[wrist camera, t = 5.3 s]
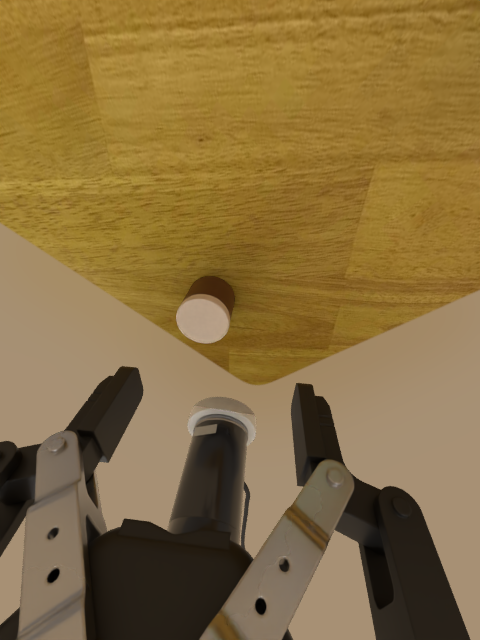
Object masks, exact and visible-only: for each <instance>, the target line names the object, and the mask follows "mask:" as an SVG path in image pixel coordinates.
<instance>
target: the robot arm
mask: <svg viewBox="0 0 480 640" xmlns="http://www.w3.org/2000/svg"><path fill="white" fill-rule="evenodd" d="M142 396H143V385H142V382H141V378H140V374H139V370H138V368H134V367H124V366H122V367H120V368H119V369H118V371H117V372H116V374H115V375H114V376H109V377H107V378H106V379H105V380H103V381H102V382H101V383H100V384H99V385H98V386H97V388H96V389H95V390H94V392H93V394H91V396H90V397H89V398H88V401H86V402H85V404H84V405H83V406H82V408H81V409H80V410H79V412H78V413H77V414H76V416H75V417H74V419H73V420H72V421H71V423H70V424H69V426H68V427H67V428H66V429H65V430H64V431H61V432H58V433H56V434H54V435H52V436H50V437H49V438H48V439H46V440H45V441H44V442H43V443H42V444H37V445H32V446H27V447H22V448H17V446H16V445H15V444H14V443H13V442H10V441H4V442H0V557H1V555H2V553H3V552H4V550H5V549H6V547H7V545H8V544H9V542H10V541H11V539H12V537H13V536H14V534H15V533H16V531H17V529H18V528H19V526H20V524H21V523H22V521H23V519H24V518H25V516H26V523H25V539H24V554H23V569H22V570H23V571H22V585H21V600H20V607H19V608H18V609H17V610H16V611H15V612H14V613H13V614H12V615H11V616H10V617H9V618H7V619H6V620H5V621H4V622H3V623H2V624H1V625H0V640H293V638H292V636H291V634H290V632H289V630H288V626H289V624H290V622H291V620H292V618H293V616H294V614H295V612H296V610H297V608H298V606H299V603H300V602H301V599H302V597H303V595H304V593H305V591H306V589H307V587H308V585H309V583H310V581H311V579H312V577H313V575H314V573H315V571H316V569H317V567H318V564H319V562H320V560H321V558H322V556H323V554H324V552H325V550H326V548H327V545H328V542H329V540H330V538H331V536H332V534H333V532H334V530H336V531H338V532H340V533H342V534H343V535H346V536H347V537H349V538H351V539H353V540H355V541H357V542H358V543H359V548H360V554H361V560H362V565H363V570H364V576H365V581H366V587H367V592H368V598H369V603H370V608H371V614H372V619H373V625H374V630H375V635H376V640H470V637H469V635H468V632H467V630H466V627H465V624H464V622H463V619H462V616H461V614H460V611H459V608H458V606H457V603H456V601H455V598H454V596H453V593H452V590H451V588H450V585H449V582H448V580H447V577H446V574H445V572H444V569H443V566H442V564H441V561H440V558H439V556H438V553H437V551H436V548H435V545H434V543H433V540H432V537H431V535H430V532H429V530H428V527H427V525H426V522H425V519H424V516H423V514H422V511H421V509H420V507H419V505H418V504H417V503H416V501H415V500H414V499H413V498H412V497H411V496H410V495H409V494H408V493H406V492H405V491H403V490H402V489H399V488H397V487H392V486H388V487H384V488H383V489H382V490H380V489H377V488H376V487H373V486H371V485H369V484H366V483H364V482H362V481H360V480H359V479H357V478H356V477H355V476H353V475H352V474H351V473H350V472H349V470H348V469H347V468H346V466H345V464H344V462H343V459H342V455H341V451H340V447H339V443H338V439H337V435H336V431H335V427H334V423H333V419H332V414H331V410H330V406H329V405H328V403H327V402H326V400H325V399H324V398H323V397H321V396H315V394H314V390H313V386H312V385H311V384H302V383H296V387H295V391H294V395H293V400H292V405H291V418H292V430H293V441H294V453H295V464H296V476H297V486H303V489H302V491H301V492H300V493H299V495H298V497H297V498H296V500H295V501H294V503H293V504H292V505H291V507H289V508H288V509H287V510H286V511H285V513H284V514H283V516H282V517H281V519H280V520H279V522H278V523H277V525H276V526H275V528H274V529H273V531H272V532H271V534H270V535H269V537H268V538H267V540H266V541H265V543H264V544H263V546H262V548H261V549H260V551H259V552H258V554H257V555H256V557H255V558H254V559H253V558H252V557H251V555H250V554H249V553H248V552H247V551H246V550H245V546H244V538H245V529H246V522H247V515H248V506H249V500H250V492H249V489H248V487H247V485H246V483H245V482H244V474H245V460H246V450H247V441H248V430H247V427H246V426H245V425H244V424H243V423H242V422H241V421H239V420H238V419H236V418H234V417H231V416H228V415H223V414H211V415H206V416H203V417H201V418H200V419H199V420H198V421H197V422H196V423H195V427H194V430H193V436H192V440H191V444H190V447H189V451H188V454H187V458H186V462H185V466H184V469H183V473H182V477H181V480H180V485H179V488H178V492H177V495H176V499H175V503H174V506H173V510H172V514H171V518H170V521H169V526H168V529H167V530H164V529H163V528H161V527H159V526H157V525H155V524H153V523H151V522H147V521H139V520H131V519H124V520H123V523H122V525H121V527H118V528H115V529H112V530H110V531H108V532H107V528H106V524H105V521H104V518H103V515H102V511H101V504H100V496H99V489H98V483H97V475H96V470H95V468H96V467H97V465H98V463H99V462H107V463H108V462H109V461H110V459H111V457H112V455H113V453H114V451H115V449H116V447H117V445H118V444H119V442H120V439H121V438H122V436H123V434H124V432H125V430H126V428H127V426H128V424H129V422H130V421H131V419H132V417H133V415H134V413H135V410H136V409H137V407H138V405H139V403H140V401H141V399H142ZM243 488H244V490H245V493H246V499H245V508H244V518H243V525H242V535H241V546H240V545H239V541H240V527H241V514H242V501H243Z"/></svg>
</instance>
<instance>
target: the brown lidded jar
mask: <svg viewBox="0 0 480 640" xmlns="http://www.w3.org/2000/svg"><path fill="white" fill-rule="evenodd" d="M234 302H235V295H234V292H233V290H232V288H231V287H230V285H229V284H228V283H227V282H225V281H224V280H222V279H220V278H218V277H213V276H207V277H202V278H200V279H198V280H197V281H195V282H194V283H193V285H192V286H191V288H190V290H189V292H188V293H187V295H186V297H185V298H184V300H183V302H182V303H181V305H180V307H179V309H178V311H177V314H176V321H177V325H178V327H179V329H180V330H181V332H182V333H183V334H184V335H185V336H186V337H188V338H189V339H191V340H193V341H196V342H199V343H213V342H216V341H218V340H220V339H222V338H223V337H224V336H225V335H226V333H227V331H228V328H229V324H230V320H231V315H232V311H233V307H234Z"/></svg>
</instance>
